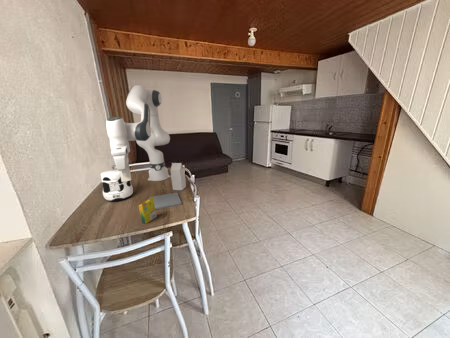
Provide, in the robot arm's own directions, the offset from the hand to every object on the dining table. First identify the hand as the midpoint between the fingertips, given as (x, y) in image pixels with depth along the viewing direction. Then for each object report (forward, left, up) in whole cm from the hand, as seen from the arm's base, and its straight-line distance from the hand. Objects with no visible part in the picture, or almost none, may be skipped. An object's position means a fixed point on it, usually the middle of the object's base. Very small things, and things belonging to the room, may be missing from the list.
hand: (125, 174), depth 102 cm
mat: (-2, +18, -21) cm, 28 cm away
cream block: (0, 0, -3) cm, 3 cm away
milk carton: (-20, +30, -21) cm, 42 cm away
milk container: (-23, -9, -21) cm, 33 cm away
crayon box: (+17, +9, -21) cm, 29 cm away
